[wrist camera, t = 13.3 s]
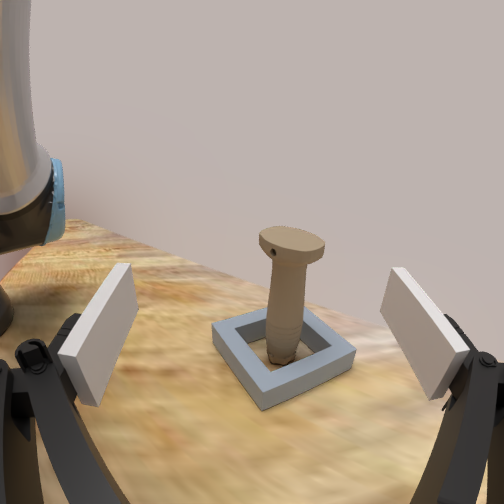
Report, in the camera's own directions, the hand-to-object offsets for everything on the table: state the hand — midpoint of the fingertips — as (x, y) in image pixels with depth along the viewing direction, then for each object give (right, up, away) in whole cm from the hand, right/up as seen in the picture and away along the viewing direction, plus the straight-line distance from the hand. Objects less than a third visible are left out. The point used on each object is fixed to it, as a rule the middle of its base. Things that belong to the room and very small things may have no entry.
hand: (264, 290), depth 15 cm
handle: (+3, -11, +20) cm, 23 cm away
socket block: (+3, -10, +20) cm, 23 cm away
